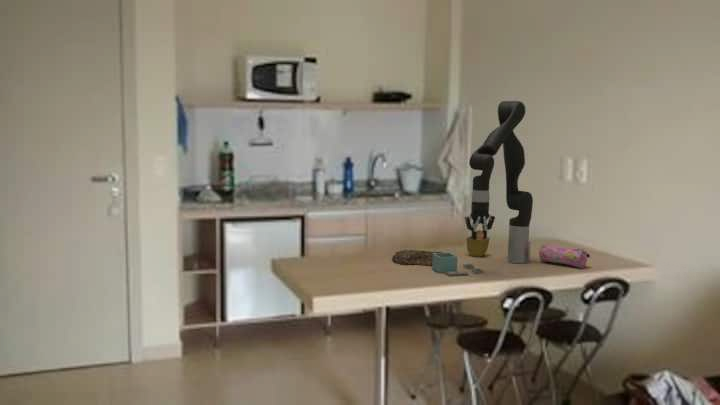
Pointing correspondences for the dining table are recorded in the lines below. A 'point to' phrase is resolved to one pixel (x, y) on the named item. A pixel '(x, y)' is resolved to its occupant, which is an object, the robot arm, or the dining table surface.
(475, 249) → the flower pot
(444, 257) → the teal open box
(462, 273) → the card
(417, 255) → the stone relief
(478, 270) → the frame
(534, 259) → the dining table surface
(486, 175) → the robot arm
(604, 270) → the dining table surface
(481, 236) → the ball
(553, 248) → the pencil case
